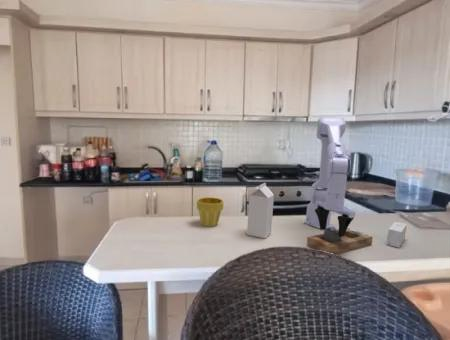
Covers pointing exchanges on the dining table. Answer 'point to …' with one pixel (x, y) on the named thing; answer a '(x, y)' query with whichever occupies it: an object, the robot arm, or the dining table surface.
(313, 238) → the brown flat rectangular frame
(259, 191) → the milk carton
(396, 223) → the skincare box
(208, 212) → the plant pot
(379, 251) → the dining table surface
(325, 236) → the plug
